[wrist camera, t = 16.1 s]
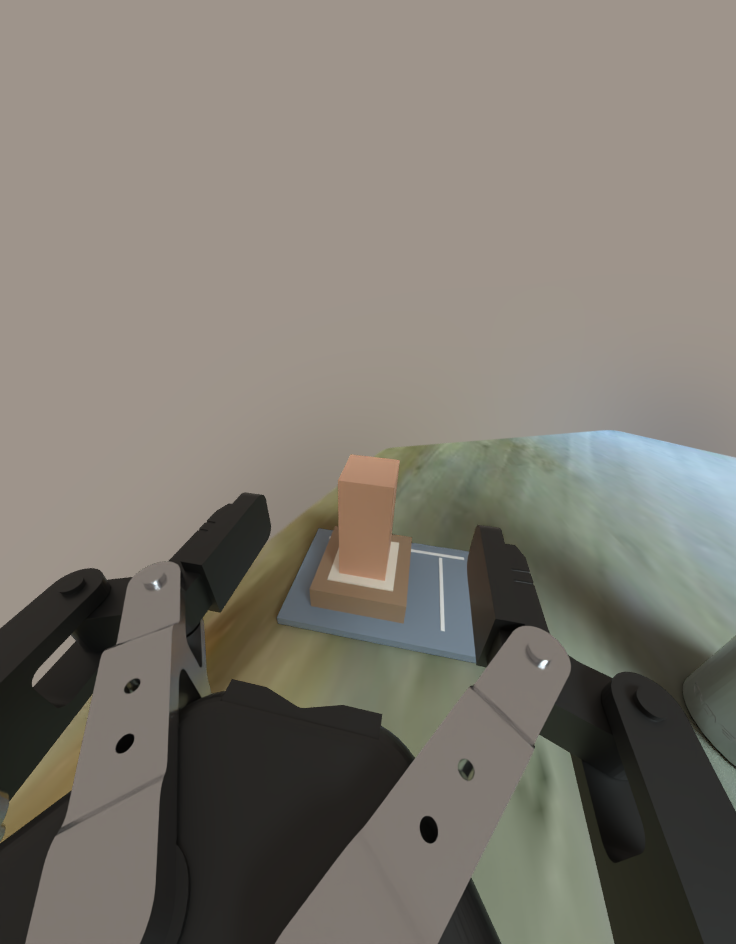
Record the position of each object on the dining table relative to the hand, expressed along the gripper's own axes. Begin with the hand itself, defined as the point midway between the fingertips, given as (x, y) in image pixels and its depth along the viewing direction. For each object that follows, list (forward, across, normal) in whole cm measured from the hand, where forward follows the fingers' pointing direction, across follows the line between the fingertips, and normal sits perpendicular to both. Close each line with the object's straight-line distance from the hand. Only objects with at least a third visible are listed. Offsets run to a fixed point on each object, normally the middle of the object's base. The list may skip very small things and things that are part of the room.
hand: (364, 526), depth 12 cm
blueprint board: (+15, 0, +23) cm, 28 cm away
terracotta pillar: (+15, +3, +19) cm, 25 cm away
